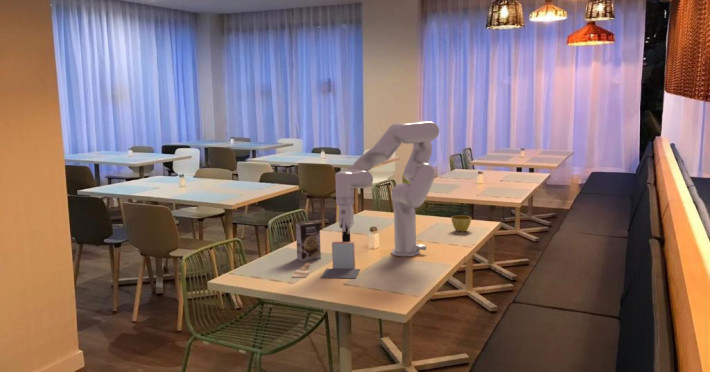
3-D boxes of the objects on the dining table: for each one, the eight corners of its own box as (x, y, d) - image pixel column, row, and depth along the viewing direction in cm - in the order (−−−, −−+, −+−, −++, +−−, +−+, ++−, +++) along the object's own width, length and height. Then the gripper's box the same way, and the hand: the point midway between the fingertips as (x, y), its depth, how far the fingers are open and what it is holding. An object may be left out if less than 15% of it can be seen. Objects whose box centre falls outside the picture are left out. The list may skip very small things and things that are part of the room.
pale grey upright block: (355, 267, 249) (354, 241, 247) (354, 269, 247) (353, 243, 245) (333, 267, 250) (333, 241, 249) (332, 269, 248) (331, 243, 246)
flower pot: (474, 229, 309) (474, 216, 308) (466, 234, 301) (466, 220, 300) (456, 228, 315) (456, 214, 313) (448, 232, 306) (448, 218, 305)
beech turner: (301, 265, 255) (301, 262, 255) (315, 265, 254) (315, 262, 254) (291, 277, 238) (291, 275, 238) (306, 277, 237) (306, 275, 237)
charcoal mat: (360, 269, 246) (360, 269, 246) (355, 278, 234) (355, 277, 234) (326, 269, 248) (326, 268, 248) (320, 278, 236) (320, 277, 236)
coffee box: (302, 261, 260) (300, 225, 258) (296, 258, 266) (295, 222, 263) (321, 258, 264) (320, 222, 262) (315, 255, 270) (314, 220, 267)
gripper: (351, 203, 245) (352, 247, 248) (356, 197, 259) (357, 238, 262) (333, 203, 246) (334, 247, 249) (339, 197, 260) (340, 238, 263)
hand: (346, 242), depth 255 cm, fingers closed
